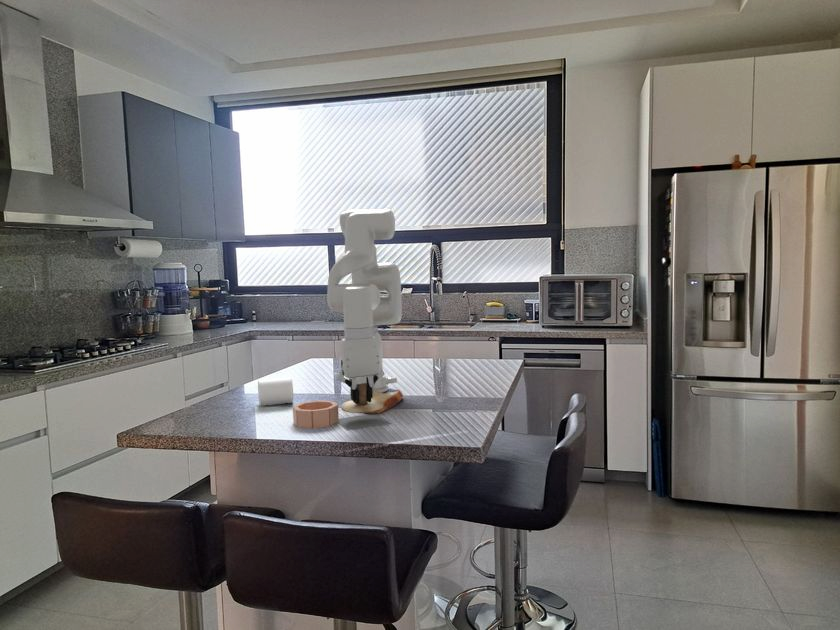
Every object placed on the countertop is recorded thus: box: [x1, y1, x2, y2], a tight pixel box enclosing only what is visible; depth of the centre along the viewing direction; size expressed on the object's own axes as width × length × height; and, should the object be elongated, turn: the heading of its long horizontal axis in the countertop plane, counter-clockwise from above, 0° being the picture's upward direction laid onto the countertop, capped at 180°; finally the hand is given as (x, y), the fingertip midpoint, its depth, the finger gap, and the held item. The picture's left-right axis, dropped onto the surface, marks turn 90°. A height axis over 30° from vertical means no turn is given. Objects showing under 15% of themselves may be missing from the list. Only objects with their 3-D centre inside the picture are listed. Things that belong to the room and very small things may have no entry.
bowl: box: [292, 400, 340, 429], centre depth 154 cm, size 11×11×5 cm
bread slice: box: [367, 389, 404, 415], centre depth 172 cm, size 18×18×4 cm
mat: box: [337, 413, 393, 431], centre depth 154 cm, size 12×12×1 cm
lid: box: [340, 382, 383, 414], centre depth 154 cm, size 11×11×6 cm
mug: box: [257, 376, 294, 407], centre depth 181 cm, size 12×10×8 cm
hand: (362, 401), depth 154 cm, fingers closed on lid, 2 cm apart
